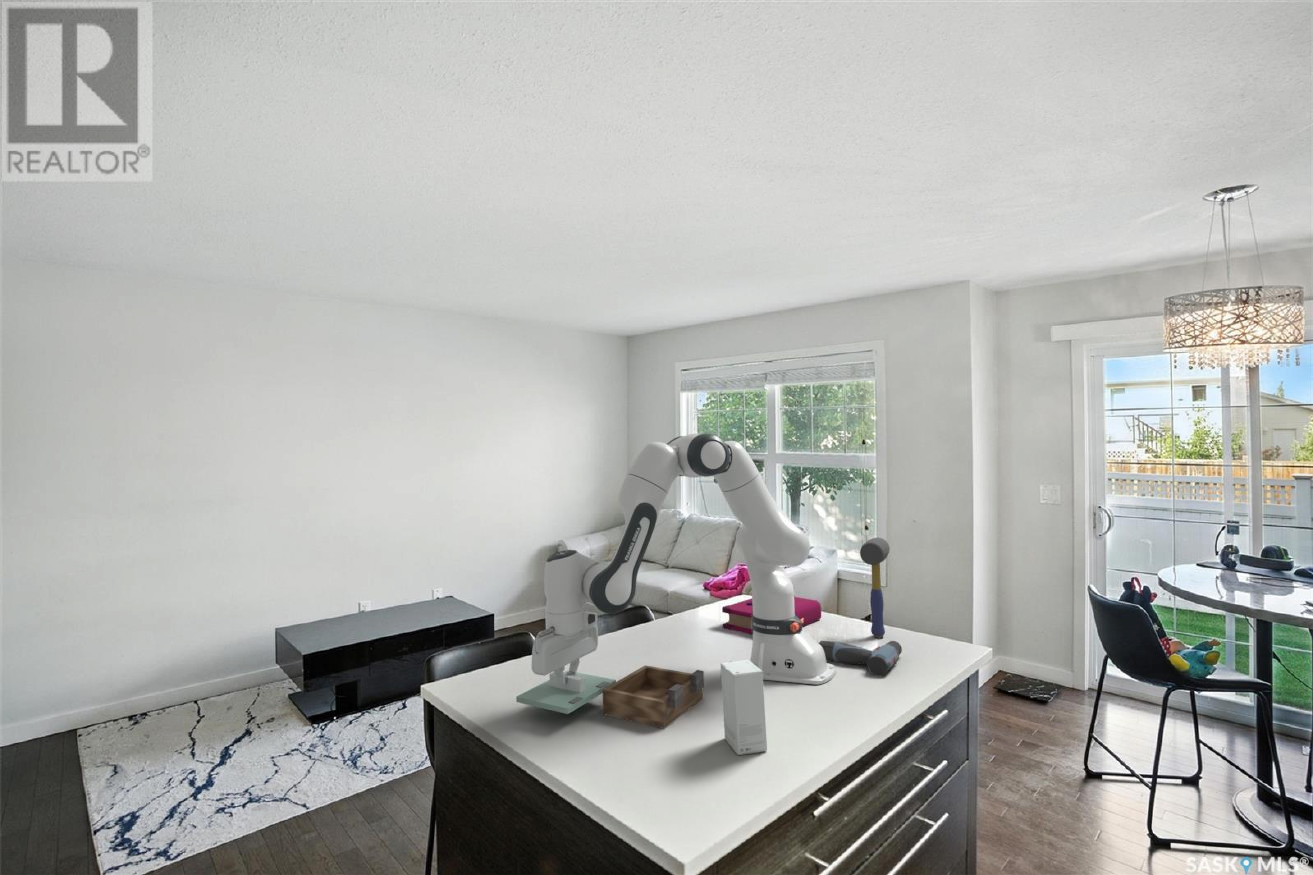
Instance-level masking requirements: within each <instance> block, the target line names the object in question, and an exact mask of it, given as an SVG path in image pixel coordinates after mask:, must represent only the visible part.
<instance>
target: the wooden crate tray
mask: <svg viewBox="0 0 1313 875" xmlns="http://www.w3.org/2000/svg"><path fill="white" fill-rule="evenodd" d="M704 673H705V672H704V670H699V669H697V670H695V671H694V672H692V673H689V672H684V671H679V670H672V669H668V668H661V667H656V666H651V665H650V666H649V665H646V664H645V665H644V666H642V667H640V668H638V669H636V670H633V671H632V672H631V673H629V674H627V675H626V676H624V677H622V678H620V679H619V680H616V682H615V683H613V684H612V685H610V686H608V687H607V688H605V689H603V693H602V710H603V713H602V714H603V715H605V714H607V715H606V716H609V715H611V716H610V717H613V716H614V718H618V719H622V720H626V719H628V720H627V721H630V720H631V721H630V722H635V723H639V724H643V723H644V724H643V725H647V724H648V726H653V727H657V728H661V729H665V728H667V727H668V726H669V725H670V723H671V724H672V723H673V722H674V721H676V720H677V719H679V718H680V717H681V716H682V715H685V713H687V711H688V710H690V709H691V708H693V707H695V705H697V704H698V703H700V701H702V700H703V698H704V697H703V689H704V688H705V679H704V678H705V676H704V675H705V674H704Z"/></svg>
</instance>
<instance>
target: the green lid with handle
mask: <svg viewBox="0 0 1313 875" xmlns="http://www.w3.org/2000/svg"><path fill="white" fill-rule="evenodd" d="M568 671H569V670H566V671H563V672H564V675H565V676H568V679H567V680H568V683H567V684H565V685H563V686H562V685H559V684H558V677H557V676H556V674H555V672H554V671H553V672H551V673H549V674H548V675H549V679H547V680H546V681H544V682H542V683H540V684H538V685H536V686H534V687H532V688H530V689H528V690H526V691H524V692H523V693H520V694H519V695H517V696H516V697H515V699H516V703H520V704H523V705H528V706H531V707H536V708H541V709H545V710H549V711H553V712H556V713H557V712H558V713H562V714H566V715H568V714H570V713H572V712H574V711H575V710H577V709H578V708H581V707H582V706H584V705H585V704H587V703H589V702H590V701H593V699H595V698H598V697H599V696H600V695H603V689H605V688H607V687H608V686H610V685H612V684H613V683H615V682H617V680H616V679H613V678H608V677H603V676H598V675H592V674H588V673H587V674H586V673H582V672H577V671H576V674H577V676H574V675H569V674H567V672H568Z"/></svg>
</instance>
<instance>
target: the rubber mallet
mask: <svg viewBox="0 0 1313 875" xmlns="http://www.w3.org/2000/svg"><path fill="white" fill-rule="evenodd" d="M859 551H860V552H859V556H860V557H861V560H862V561H863V562H864V563H865V564H867V565H869V566H871V591H870V600H869V601H870V611H871V628H870V633H871V634H872V636H873V637H874V638H880V639H881V638H883V637H884V635H885V633H886V630H885V625H884V606H885V604H884V595H883V591H882V581H881V563H883V562H884V561H885V560H886V559H887V557H888V556H889V553H890V545H889V543H888V541H886V539H884V538H882V537H873V538H870V539H868V540H866V541H865V542H864V544H862V546H861V548H860V550H859Z"/></svg>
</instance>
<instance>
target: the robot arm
mask: <svg viewBox="0 0 1313 875" xmlns="http://www.w3.org/2000/svg"><path fill="white" fill-rule="evenodd" d="M678 477H686V478H687V477H688V478H694V479H695V478H701V477H702V478H703V477H706V478H709V477H713V478H714V479H715V480H716V483H717V485H718V487H719V488H720V491H721V492H722V495H723V497H724V500H725V501H726V502H727V504H728V507H729V509H730V510H731V512H732V514H733V516H734V517H735V518H736V519H737V520H738V521H740V522H741V523H742V524H741V525H740V527H739V528H738V530H737V531H736V535H735V542H736V543H735V544H736V547H737V548H738V550H739V551H740V552H741V555H742V556H743V560H744V563H745V565H746V570H747V573H748V576H749V581H750V587H751V598H752V604H753V614H752V616H751V629H752V634H751V635H752V647H751V651H750V652H751V654H750V659H749V661H751V662H752V663H753V664H754V665H755V666H757V667H758V668H759V669H760V670H762V671H763V681H764V680H766V681H776V682H785V683H786V682H787V683H797V684H807V685H821V684H824V683H827V682H829V681H830V680H832V679H833V678H834V676H835V675H836V667H835V665H834V664H831V663H827V662H828V661H827V660H826V657H825V653H824V650H823V648H822V646H821V645H820V644H819V642H817V640H815V639H814V638H812V637H811V636H810V635H808V633H806V632H805V631H804V630H803V626H802V623H803V622H804V621H803V619H804V618H802V619H801V620H800V619H799V618H798V617H797V616H796V615H795V609H794V597H795V589H794V584H793V582H792V580H791V579H790V578H789V576H788V575H787V572H786V569H785V568H789V567H790V568H791V567H792V568H793V567H798V566H801V565H802V564H803V563H804V562H806V561H807V559H808V557H809V555H810V550H811V546H810V545H811V544H810V539H809V537H808V535H807V534H806V533H805V532H804V531H802V530H801V529H800V528H799V527H797V526H796V524H794V523H793V522H792V521H791V519H790V518H789V517H788V516H787V515H786V513H785V512H784V511H783V509H782V508H781V507H780V506H779V504H778V503H777V502H776V500H775V499H774V498H773V496H772V494H771V493H770V491H769V489H768V487H767V485H766V483H765V481H764V479H763V477H762V476H761V473H760V471H759V470H758V467H757V466H756V464H755V462H754V461H753V459H752V457H751V456H750V454H749V453H748V452H747V450H746V449H745V448H744V446H743V445H742V444H741V443H740V442H739V441H736V440H728V441H727V440H726V441H724V440H723V439H721V438H720V437H718V436H717V435H714V434H711V433H691V434H690V433H689V434H686V435H679V436H676V437H675V438H672V439H671V440H670V441H668V442H667V443H664V442H661V441H653V442H649V443H647V444H646V445H645V446H644V447H643V449H641V451H640V453H639V454H638V455H637V457H636V458H635V460H634V461H633V463H632V465H631V466H630V468H629V471H628V472H627V474H626V476H625V478H624V480H623V483H622V484H621V488H620V491H619V495H618V498H617V499H618V503H619V507H620V510H621V512H622V513H623V516H624V522H625V524H624V530H623V533H622V536H621V538H620V540H619V542H618V545H617V547H616V550H615V553H614V554H613V558H612V559H611V561H610V562H609V563H608V562H606V561H603V560H598V559H595V558H591V557H589V556H586V555H584V554H582V553H580V552H579V551H578V550H576V549H575V550H574V549H567V550H561V551H557V552H555V553H553V554H552V555H549V556H548V558H547V559H546V561H545V565H544V570H543V572H544V574H543V589H544V591H543V592H544V596H545V599H546V601H545V602H546V603H545V607H544V612H545V629H544V630H540V631H539V632H538V633H537V635H536V636H535V638H534V639H533V644H532V645H533V646H532V650H531V671H532V673H534V674H535V675H539V676H542V677H543V676H548V675H549V674H551V673H553V672H555V674H556V676H557V677H558V684H559V685H562V686H563V685H565V684H567V683H568V680H567V679H568V676H565V675H564V672H565V666H568V665H569V668H568V670H567V671H568V672H567V674H569V675H574V676H577V674H576V672H577V671H578V669H579V666H580V659H581V658H583V657H586V656H587V655H589V654H591V653H594V652H595V651H597V648H598V646H599V631H598V630H599V629H598V625H597V621H598V613H596V612H591V611H586V610H585V609H584V608H585V607H584V605H585V603H589V602H590V603H592V604H593V605H594V606H595V607H596V608H597V609H598V610H599V611H600V612H602V613H604V614H607V615H608V614H609V615H610V614H611V615H612V614H613V615H615V614H619V613H621V612H623V611H625V610H626V609H627V608H628V607H629V606H630V605H631V604H632V602H633V600H634V598H635V596H636V592H637V591H636V589H637V577H638V573H639V570H640V567H641V564H642V561H643V559H644V557H645V554H646V551H647V550H648V546H649V543H650V541H651V538H652V536H653V532H654V531H655V527H656V523H657V520H658V517H659V513H660V511H661V508H662V506H663V504H664V502H665V500H666V498H667V497H668V496H667V495H669V491H670V489H671V486H672V485H673V483H674V482H675V480H676V479H677V478H678Z"/></svg>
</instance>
